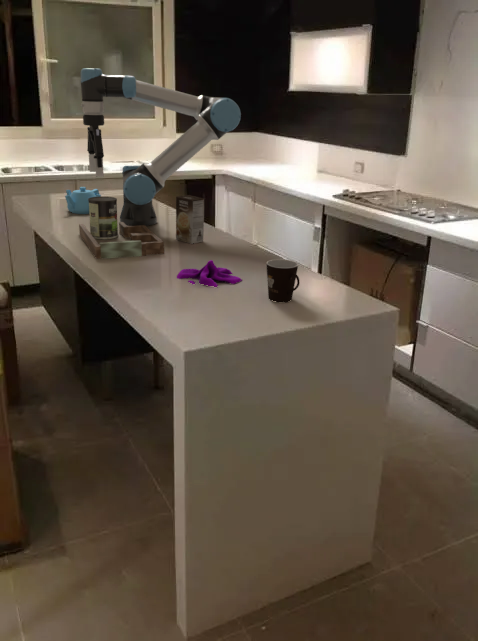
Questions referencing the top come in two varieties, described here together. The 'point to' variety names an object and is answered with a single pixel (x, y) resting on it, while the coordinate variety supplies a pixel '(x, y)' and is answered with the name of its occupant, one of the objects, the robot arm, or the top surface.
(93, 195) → the teapot
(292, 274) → the coffee mug
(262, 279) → the top surface
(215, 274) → the cloth
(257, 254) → the top surface
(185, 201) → the coffee box
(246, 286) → the top surface
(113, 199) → the coffee can
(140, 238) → the wooden compartment tray
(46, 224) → the top surface
